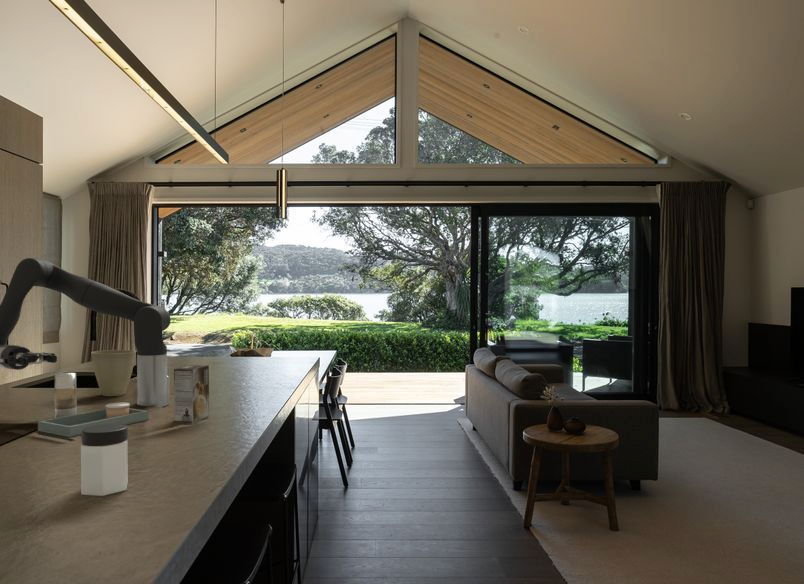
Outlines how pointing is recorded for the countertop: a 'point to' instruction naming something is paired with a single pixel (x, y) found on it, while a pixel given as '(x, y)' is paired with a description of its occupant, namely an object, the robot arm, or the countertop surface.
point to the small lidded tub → (117, 409)
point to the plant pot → (113, 370)
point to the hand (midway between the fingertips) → (41, 360)
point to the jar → (104, 459)
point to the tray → (86, 422)
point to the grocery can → (65, 394)
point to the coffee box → (191, 393)
